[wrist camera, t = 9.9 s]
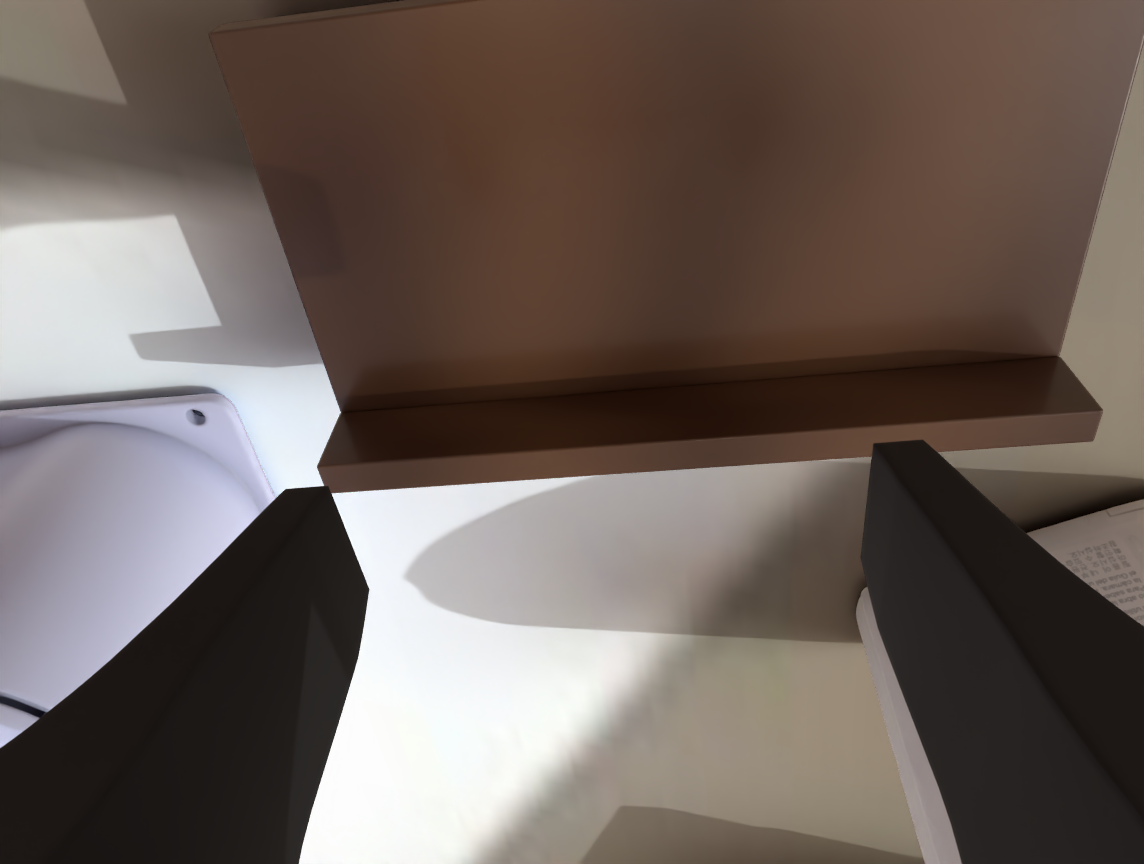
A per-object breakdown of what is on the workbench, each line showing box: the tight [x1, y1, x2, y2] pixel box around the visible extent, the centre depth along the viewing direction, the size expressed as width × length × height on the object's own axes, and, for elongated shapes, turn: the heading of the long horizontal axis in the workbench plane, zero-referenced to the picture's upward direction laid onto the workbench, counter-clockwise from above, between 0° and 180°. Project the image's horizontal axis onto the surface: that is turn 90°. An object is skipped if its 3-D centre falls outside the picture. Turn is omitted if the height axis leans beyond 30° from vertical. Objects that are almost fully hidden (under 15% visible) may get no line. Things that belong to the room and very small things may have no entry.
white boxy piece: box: [856, 499, 1144, 864], centre depth 21 cm, size 10×4×12 cm, turn 119°
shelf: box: [209, 0, 1144, 493], centre depth 17 cm, size 16×9×5 cm, turn 97°
